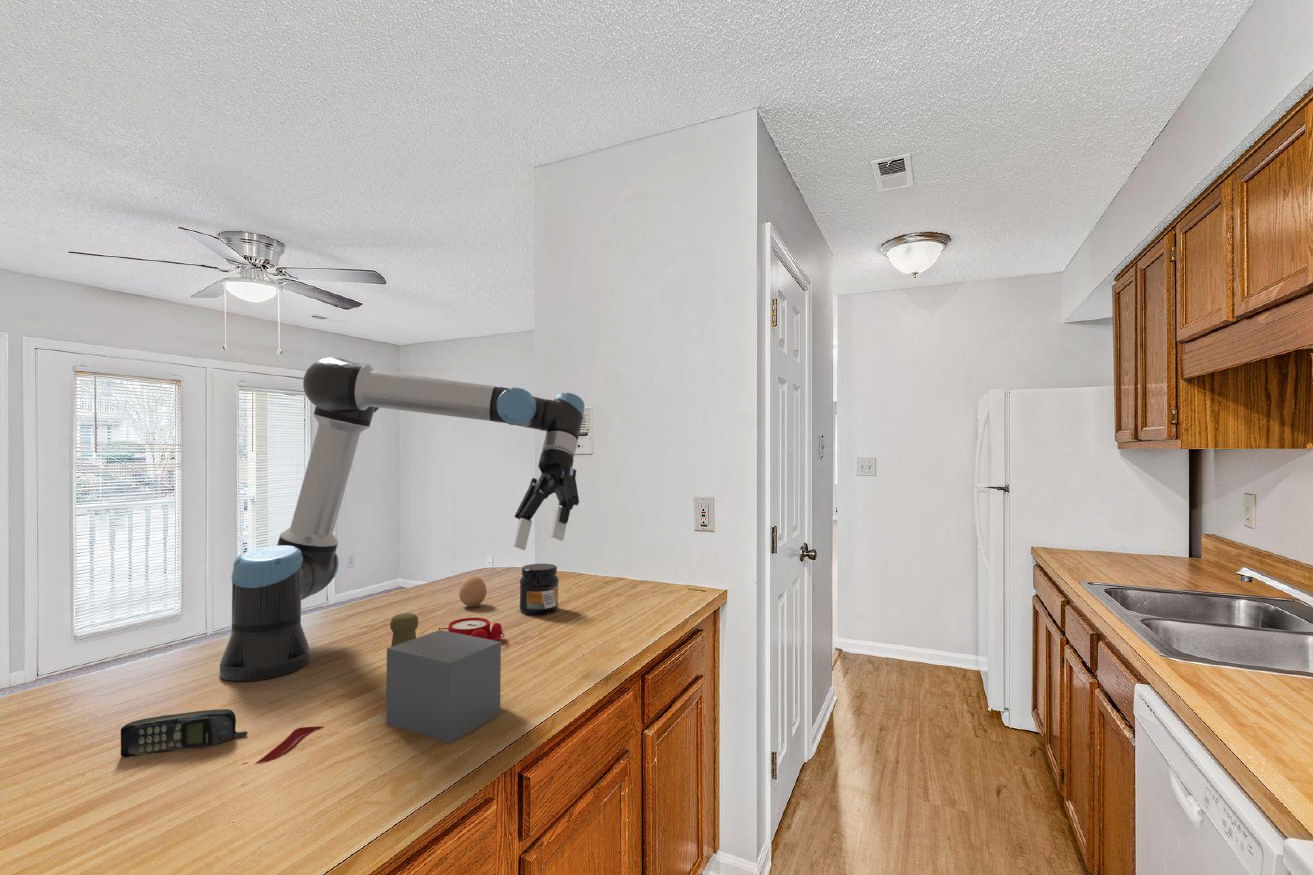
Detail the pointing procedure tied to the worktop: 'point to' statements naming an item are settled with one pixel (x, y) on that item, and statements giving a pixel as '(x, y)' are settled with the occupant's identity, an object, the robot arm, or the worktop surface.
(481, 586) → the egg
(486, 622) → the alarm clock
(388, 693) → the gray box
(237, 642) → the robot arm
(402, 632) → the cork
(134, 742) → the mobile phone
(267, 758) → the cayenne pepper
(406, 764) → the worktop surface
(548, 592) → the supplement container
